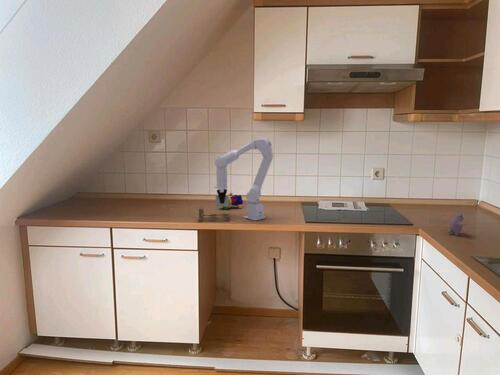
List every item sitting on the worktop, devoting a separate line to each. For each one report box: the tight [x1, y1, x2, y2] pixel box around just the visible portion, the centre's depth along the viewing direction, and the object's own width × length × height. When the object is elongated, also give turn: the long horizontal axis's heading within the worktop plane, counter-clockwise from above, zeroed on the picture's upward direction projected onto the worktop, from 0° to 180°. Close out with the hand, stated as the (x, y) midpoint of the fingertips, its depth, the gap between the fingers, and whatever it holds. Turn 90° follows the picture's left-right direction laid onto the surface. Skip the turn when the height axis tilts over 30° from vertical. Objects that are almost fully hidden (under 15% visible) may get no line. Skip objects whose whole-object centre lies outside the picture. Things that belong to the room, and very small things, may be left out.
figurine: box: [447, 212, 467, 237], centre depth 173 cm, size 12×6×10 cm, turn 170°
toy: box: [222, 192, 244, 210], centre depth 227 cm, size 12×9×15 cm
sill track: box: [198, 205, 230, 223], centre depth 199 cm, size 16×7×7 cm, turn 93°
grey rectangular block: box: [215, 194, 230, 208], centre depth 207 cm, size 7×2×6 cm, turn 93°
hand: (222, 202), depth 207 cm, fingers closed on grey rectangular block, 2 cm apart
